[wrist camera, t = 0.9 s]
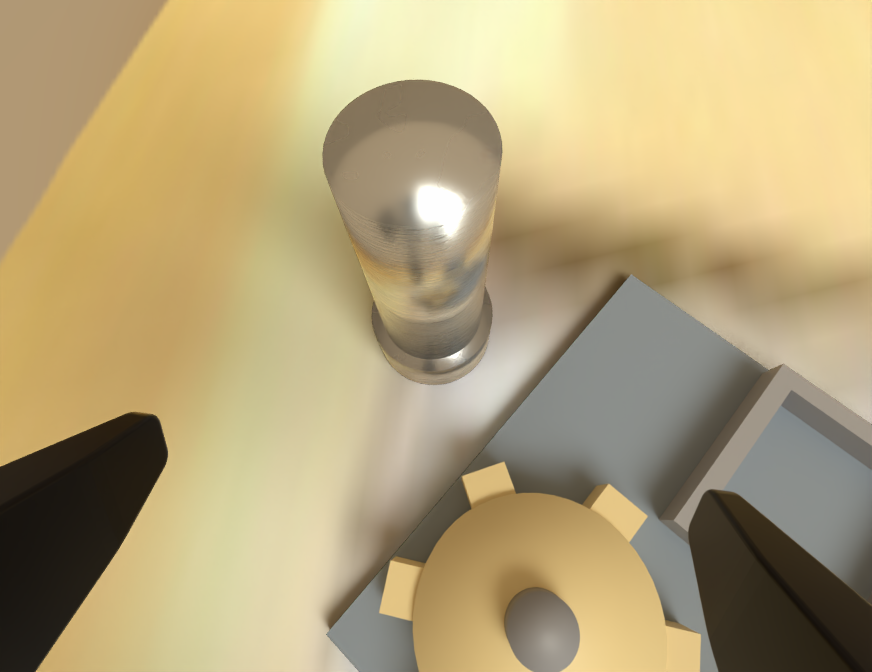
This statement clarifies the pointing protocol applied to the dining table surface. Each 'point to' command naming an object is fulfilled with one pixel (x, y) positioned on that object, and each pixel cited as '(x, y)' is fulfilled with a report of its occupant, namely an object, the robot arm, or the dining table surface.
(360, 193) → the chrome flanged cylinder
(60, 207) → the dining table surface
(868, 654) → the robot arm
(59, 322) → the dining table surface
